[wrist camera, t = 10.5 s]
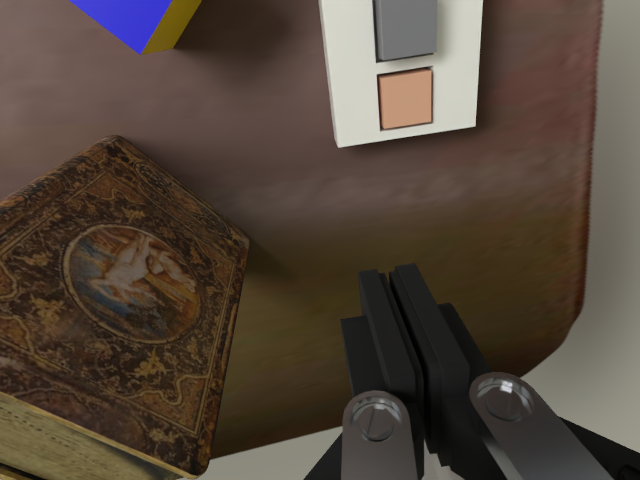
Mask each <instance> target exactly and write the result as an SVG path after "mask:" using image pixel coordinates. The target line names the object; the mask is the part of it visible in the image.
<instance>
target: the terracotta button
mask: <svg viewBox="0 0 640 480" xmlns="http://www.w3.org/2000/svg"><path fill="white" fill-rule="evenodd" d="M377 91H378V108H379V124H380V125H381V126H382V127H383V128H384V129H386V128H393V127H399V126H406V125H412V124H419V123H425V122H431V70H428V69H425V68H419V69H413V70H406V71H400V72H393V73H387V74H380V75H377Z"/></svg>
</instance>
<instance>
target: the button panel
mask: <svg viewBox="0 0 640 480" xmlns="http://www.w3.org/2000/svg"><path fill="white" fill-rule="evenodd" d="M318 2H319V10H320V19H321V27H322V36H323V44H324V53H325V61H326V70H327V78H328V87H329V95H330V104H331V112H332V121H333V129H334V138H335V141H336V143H337V146H338V148H339V147H345V146H352V145H358V144H365V143H371V142H378V141H384V140H391V139H397V138H404V137H410V136H417V135H423V134H429V133H436V132H442V131H449V130H455V129H462V128H468V127H475V125H476V108H477V91H478V74H479V57H480V40H481V23H482V6H483V0H437V52H434V53H427V54H421V55H415V56H408V57H402V58H395V59H389V60H382V59H379V58H378V52H377V35H376V18H375V0H318ZM419 68H425V69H428V70H431V122H425V123H419V124H412V125H406V126H399V127H393V128H386V129H384V128H383V127H382V126H381V125H380V124H379V108H378V91H377V75H380V74H387V73H393V72H400V71H406V70H413V69H419Z"/></svg>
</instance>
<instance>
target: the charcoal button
mask: <svg viewBox="0 0 640 480" xmlns="http://www.w3.org/2000/svg"><path fill="white" fill-rule="evenodd" d="M375 18H376V35H377V52H378V58H379V59H382V60H389V59H395V58H402V57H408V56H415V55H421V54H427V53H434V52H437V0H375Z"/></svg>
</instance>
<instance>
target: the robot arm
mask: <svg viewBox="0 0 640 480" xmlns="http://www.w3.org/2000/svg"><path fill="white" fill-rule="evenodd" d="M358 279H359V288H360V298H361V307H362V316H360V317H353V318H347V319H341V328H342V335H343V342H344V348H345V354H346V361H347V367H348V372H349V378H350V384H351V390H352V395H353V399H352V400H351V401H350V402H349V403H348V405H347V407H346V408H345V411H344V416H343V432H342V433H341V434H340V436H339V437H338V438H337V439H336V440H335V442H334V443H333V444H332V445H331V447H330V448H329V449H328V450H327V452H326V453H325V454H324V455H323V456H322V458H321V459H320V460H319V461H318V462H317V464H316V465H315V466H314V467H313V469H312V470H311V471H310V472H309V474H308V475H307V476H306V477H305V478H304V480H640V453H638V452H636V451H634V450H631V449H629V448H627V447H625V446H622V445H620V444H618V443H616V442H614V441H612V440H609V439H607V438H605V437H603V436H601V435H598V434H596V433H594V432H592V431H589V430H587V429H585V428H583V427H581V426H579V425H576V424H574V423H572V422H570V421H567V420H565V419H563V418H561V417H559V416H557V415H556V414H555V412H554V411H553V410H552V409H551V408H550V407H549V406H548V405H547V404H546V402H545V401H544V400H543V399H542V398H541V397H540V395H539V394H538V393H537V392H536V391H535V390H534V389H533V388H532V387H531V386H530V385H529V384H528V383H526V382H525V381H523V380H521V379H520V378H518V377H516V376H513V375H510V374H507V373H500V372H492V371H491V369H490V368H489V366H488V364H487V363H486V361H485V359H484V358H483V356H482V354H481V352H480V351H479V349H478V347H477V346H476V344H475V342H474V341H473V339H472V337H471V335H470V334H469V332H468V330H467V329H466V327H465V325H464V324H463V322H462V320H461V318H460V317H459V315H458V313H457V312H456V310H455V308H454V307H453V305H452V304H450V303H444V304H438V305H437V304H436V302H435V300H434V298H433V296H432V294H431V293H430V291H429V289H428V287H427V285H426V283H425V281H424V279H423V278H422V276H421V274H420V272H419V270H418V268H417V266H416V265H415V264H414V263H413V264H406V265H400V266H396V267H395V271H393V272H389V281H390V286H389V283H388V280H387V278H386V275H385V273H380V274H378V271H377V269H374V270H367V271H361V272H358Z"/></svg>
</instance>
